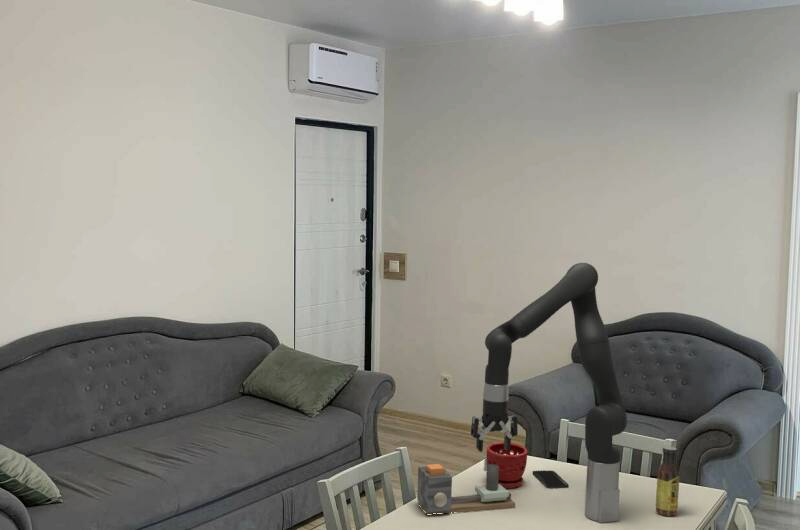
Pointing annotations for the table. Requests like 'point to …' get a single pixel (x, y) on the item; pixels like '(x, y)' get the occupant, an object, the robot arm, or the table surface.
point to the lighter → (486, 462)
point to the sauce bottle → (667, 483)
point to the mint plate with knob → (492, 486)
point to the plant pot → (508, 463)
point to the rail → (438, 496)
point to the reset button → (434, 469)
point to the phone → (550, 479)
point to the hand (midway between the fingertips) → (493, 450)
